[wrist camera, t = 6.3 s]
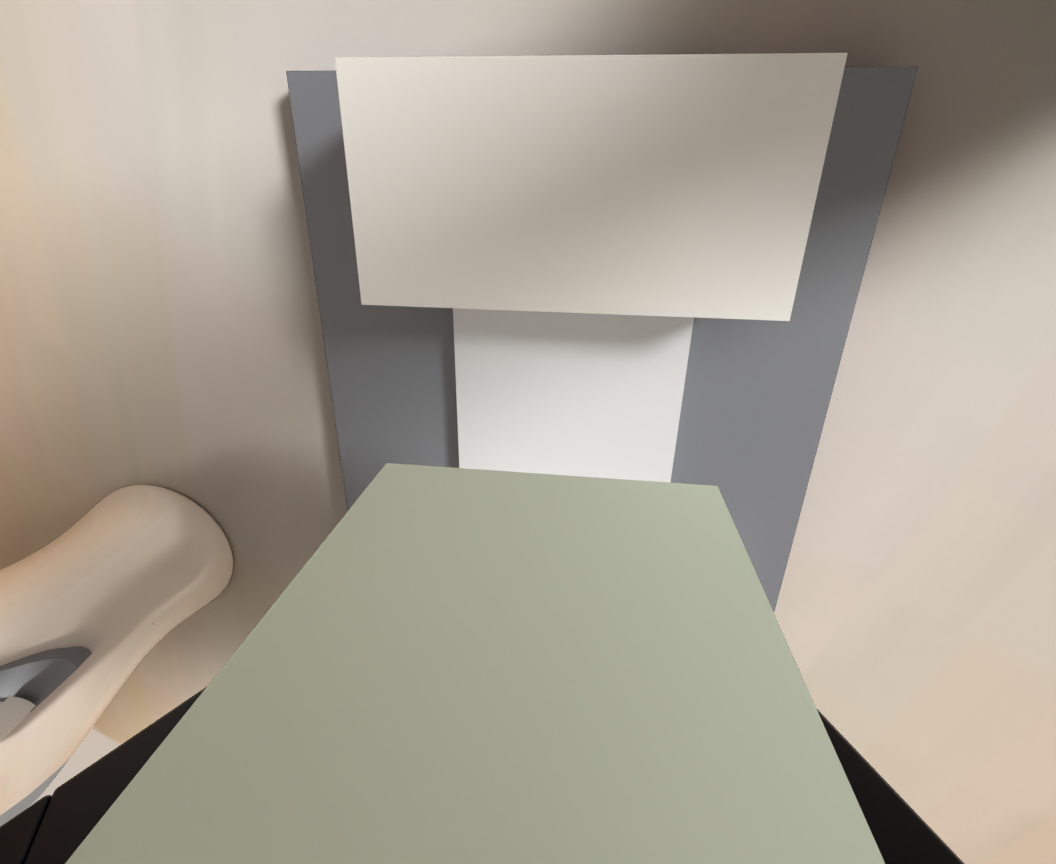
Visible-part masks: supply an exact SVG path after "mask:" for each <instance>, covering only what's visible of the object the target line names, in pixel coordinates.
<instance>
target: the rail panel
mask: <svg viewBox="0 0 1056 864" xmlns="http://www.w3.org/2000/svg"><path fill="white" fill-rule="evenodd" d="M847 54H848V53H762V54H657V55H551V56H446V57H340V58H335V65H336V71H286V74H287V81H288V88H289V96H290V103H291V110H292V117H293V124H294V131H295V138H296V145H297V152H298V159H299V167H300V174H301V181H302V188H303V195H304V202H305V209H306V216H307V223H308V230H309V238H310V245H311V252H312V259H313V266H314V273H315V280H316V287H317V294H318V301H319V309H320V316H321V323H322V330H323V337H324V344H325V351H326V358H327V365H328V372H329V380H330V387H331V394H332V401H333V408H334V415H335V422H336V429H337V436H338V443H339V451H340V458H341V465H342V472H343V479H344V486H345V493H346V500H347V507H348V510H349V509H350V508H351V507H352V505H353V504H354V503H355V502H356V500H357V499H358V498H359V497H360V495H361V494H362V493H363V492H364V491H365V489H366V488H367V487H368V486H369V484H370V483H371V482H372V481H373V479H374V478H375V477H376V476H377V474H378V473H379V472H380V471H381V469H382V468H383V467H384V466H385V464H386V463H394V464H409V465H423V466H438V467H452V468H466V469H481V470H495V471H510V472H524V473H539V474H553V475H568V476H582V477H596V478H611V479H625V480H640V481H654V482H669V483H683V484H697V485H712V486H718V488H719V490H720V493H721V495H722V497H723V499H724V502H725V504H726V506H727V508H728V511H729V513H730V515H731V517H732V520H733V522H734V524H735V526H736V529H737V531H738V533H739V535H740V538H741V540H742V542H743V544H744V547H745V549H746V551H747V553H748V556H749V558H750V560H751V563H752V565H753V567H754V569H755V572H756V574H757V576H758V578H759V581H760V583H761V585H762V587H763V590H764V592H765V594H766V596H767V599H768V601H769V603H770V605H771V608H772V610H773V612H774V611H775V607H776V603H777V600H778V596H779V592H780V588H781V584H782V581H783V577H784V573H785V569H786V565H787V562H788V558H789V554H790V550H791V546H792V543H793V539H794V535H795V531H796V527H797V524H798V520H799V516H800V512H801V508H802V505H803V501H804V497H805V493H806V489H807V486H808V482H809V478H810V474H811V470H812V467H813V463H814V459H815V455H816V452H817V448H818V444H819V440H820V436H821V433H822V429H823V425H824V421H825V417H826V414H827V410H828V406H829V402H830V398H831V395H832V391H833V387H834V383H835V379H836V376H837V372H838V368H839V364H840V360H841V357H842V353H843V349H844V345H845V341H846V338H847V334H848V330H849V326H850V322H851V319H852V315H853V311H854V307H855V304H856V300H857V296H858V292H859V288H860V285H861V281H862V277H863V273H864V269H865V266H866V262H867V258H868V254H869V250H870V247H871V243H872V239H873V235H874V231H875V228H876V224H877V220H878V216H879V212H880V209H881V205H882V201H883V197H884V193H885V190H886V186H887V182H888V178H889V174H890V171H891V167H892V163H893V159H894V156H895V152H896V148H897V144H898V140H899V137H900V133H901V129H902V125H903V121H904V118H905V114H906V110H907V106H908V102H909V99H910V95H911V91H912V87H913V83H914V80H915V76H916V72H917V68H918V67H845V63H846V59H847Z"/></svg>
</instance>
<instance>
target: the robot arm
mask: <svg viewBox="0 0 1056 864" xmlns="http://www.w3.org/2000/svg"><path fill="white" fill-rule="evenodd" d="M205 689H206V688H204V689H203V690H201V691H200V692H198V693H197V694H195V695H194V696H192V697H191V698H189V699H188V700H186V701H185V702H183V703H182V704H180V705H179V706H178V707H176V708H175V709H173V710H172V711H170V712H169V713H167V714H166V715H164V716H163V717H161V718H160V719H158V720H157V721H155V722H154V723H152V724H151V725H149V726H148V727H147V728H145V729H144V730H142V731H141V732H139V733H138V734H136V735H135V736H133V737H132V738H130V739H129V740H127V741H126V742H124V743H123V744H121V745H120V746H119V747H117V748H116V749H114V750H113V751H111V752H110V753H108V754H107V755H105V756H104V757H102V758H101V759H99V760H98V761H96V762H95V763H94V764H92V765H91V766H89V767H88V768H86V769H85V770H83V771H82V772H80V773H79V774H77V775H76V776H74V777H73V778H71V779H70V780H68V781H67V782H66V783H64V784H63V785H61V786H60V787H58V788H57V789H56V790H55V791H54V793H53V795H52V796H51V795H47V796H45V797H43V798H41V799H40V800H39V801H37V802H36V803H34V804H33V805H31V806H30V807H28V808H27V809H25V810H24V811H22V812H21V813H19V814H18V815H16V816H15V817H13V818H12V819H11V820H9V821H8V822H6V823H5V824H3V825H2V826H0V864H65V863H66V862H67V861H68V859H69V858H70V857H71V856H72V854H73V853H74V852H75V851H76V849H77V848H78V847H79V846H80V844H81V843H82V842H83V841H84V839H85V838H86V837H87V836H88V834H89V833H90V832H91V831H92V829H93V828H94V827H95V826H96V824H97V823H98V822H99V821H100V819H101V818H102V817H103V816H104V814H105V813H106V812H107V811H108V809H109V808H110V807H111V806H112V804H113V803H114V802H115V801H116V800H117V798H118V797H119V796H120V795H121V793H122V792H123V791H124V790H125V788H126V787H127V786H128V785H129V783H130V782H131V781H132V780H133V778H134V777H135V776H136V775H137V773H138V772H139V771H140V770H141V768H142V767H143V766H144V765H145V763H146V762H147V761H148V760H149V758H150V757H151V756H152V755H153V753H154V752H155V751H156V750H157V748H158V747H159V746H160V745H161V743H162V742H163V741H164V740H165V738H166V737H167V736H168V735H169V733H170V732H171V731H172V730H173V728H174V727H175V726H176V725H177V724H178V722H179V721H180V720H181V719H182V717H183V716H184V715H185V714H186V712H187V711H188V710H189V709H190V707H191V706H192V705H193V704H194V702H195V701H196V700H197V699H198V697H199V696H200V695H201V694H202V692H203V691H204V690H205ZM816 709H817V708H816ZM817 711H818V713H819V716H820V718H821V720H822V722H823V725H824V727H825V729H826V731H827V734H828V736H829V738H830V740H831V743H832V745H833V747H834V749H835V752H836V754H837V756H838V758H839V761H840V763H841V765H842V767H843V770H844V772H845V774H846V776H847V779H848V781H849V783H850V785H851V788H852V790H853V792H854V794H855V797H856V799H857V801H858V803H859V806H860V808H861V810H862V812H863V815H864V817H865V819H866V821H867V824H868V826H869V828H870V830H871V833H872V835H873V837H874V839H875V842H876V844H877V846H878V848H879V851H880V853H881V855H882V857H883V860H884V862H885V864H964V863H963V862H962V861H961V860H960V859H959V857H958V856H957V855H956V854H955V853H954V852H953V851H952V850H951V849H950V848H949V847H948V846H947V845H946V844H945V843H944V842H943V841H942V840H941V839H940V838H939V836H938V835H937V834H936V833H935V832H934V831H933V830H932V829H931V828H930V827H929V826H928V825H927V824H926V823H925V822H924V821H923V820H922V819H921V818H920V817H919V815H918V814H917V813H916V812H915V811H914V810H913V809H912V808H911V807H910V806H909V805H908V804H907V803H906V802H905V801H904V800H903V799H902V798H901V797H900V796H899V794H898V793H897V792H896V791H895V790H894V789H893V788H892V787H891V786H890V785H889V784H888V783H887V782H886V781H885V780H884V779H883V778H882V777H881V776H880V775H879V773H878V772H877V771H876V770H875V769H874V768H873V767H872V766H871V765H870V764H869V763H868V762H867V761H866V760H865V759H864V758H863V757H862V756H861V755H860V754H859V752H858V751H857V750H856V749H855V748H854V747H853V746H852V745H851V744H850V743H849V742H848V741H847V740H846V739H845V738H844V737H843V736H842V735H841V734H840V733H839V731H838V730H837V729H836V728H835V727H834V726H833V725H832V724H831V723H830V722H829V721H828V720H827V719H826V718H825V717H824V716H823V715H822V714H821V713H820V712H819V710H818V709H817Z"/></svg>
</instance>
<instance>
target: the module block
mask: <svg viewBox="0 0 1056 864" xmlns="http://www.w3.org/2000/svg"><path fill="white" fill-rule="evenodd" d="M65 864H885V862H884V860H883V857H882V855H881V853H880V851H879V848H878V846H877V844H876V842H875V839H874V837H873V835H872V833H871V830H870V828H869V826H868V824H867V821H866V819H865V817H864V815H863V812H862V810H861V808H860V806H859V803H858V801H857V799H856V797H855V794H854V792H853V790H852V788H851V785H850V783H849V781H848V779H847V776H846V774H845V772H844V770H843V767H842V765H841V763H840V761H839V758H838V756H837V754H836V752H835V749H834V747H833V745H832V743H831V740H830V738H829V736H828V734H827V731H826V729H825V727H824V725H823V722H822V720H821V718H820V716H819V713H818V711H817V709H816V707H815V704H814V702H813V700H812V698H811V695H810V693H809V691H808V689H807V686H806V684H805V682H804V680H803V677H802V675H801V673H800V671H799V668H798V666H797V664H796V662H795V659H794V657H793V655H792V653H791V650H790V648H789V646H788V644H787V641H786V639H785V637H784V635H783V632H782V630H781V628H780V626H779V623H778V621H777V619H776V617H775V614H774V612H773V610H772V608H771V605H770V603H769V601H768V599H767V596H766V594H765V592H764V590H763V587H762V585H761V583H760V581H759V578H758V576H757V574H756V572H755V569H754V567H753V565H752V563H751V560H750V558H749V556H748V553H747V551H746V549H745V547H744V544H743V542H742V540H741V538H740V535H739V533H738V531H737V529H736V526H735V524H734V522H733V520H732V517H731V515H730V513H729V511H728V508H727V506H726V504H725V502H724V499H723V497H722V495H721V493H720V490H719V488H718V486H712V485H697V484H683V483H669V482H654V481H640V480H625V479H611V478H596V477H582V476H568V475H553V474H539V473H524V472H510V471H495V470H481V469H466V468H452V467H438V466H423V465H409V464H394V463H386V464H385V466H384V467H383V468H382V469H381V471H380V472H379V473H378V474H377V476H376V477H375V478H374V479H373V481H372V482H371V483H370V484H369V486H368V487H367V488H366V489H365V491H364V492H363V493H362V494H361V495H360V497H359V498H358V499H357V500H356V502H355V503H354V504H353V505H352V507H351V508H350V509H349V510H348V512H347V513H346V514H345V515H344V517H343V518H342V519H341V520H340V522H339V523H338V524H337V525H336V527H335V528H334V529H333V530H332V532H331V533H330V534H329V535H328V537H327V538H326V539H325V540H324V542H323V543H322V544H321V545H320V547H319V548H318V549H317V550H316V552H315V553H314V554H313V555H312V557H311V558H310V559H309V560H308V562H307V563H306V564H305V565H304V567H303V568H302V569H301V570H300V571H299V573H298V574H297V575H296V576H295V578H294V579H293V580H292V581H291V583H290V584H289V585H288V586H287V588H286V589H285V590H284V591H283V593H282V594H281V595H280V596H279V598H278V599H277V600H276V601H275V603H274V604H273V605H272V606H271V608H270V609H269V610H268V611H267V613H266V614H265V615H264V616H263V618H262V619H261V620H260V621H259V623H258V624H257V625H256V626H255V628H254V629H253V630H252V631H251V633H250V634H249V635H248V636H247V638H246V639H245V640H244V641H243V643H242V644H241V645H240V646H239V647H238V649H237V650H236V651H235V652H234V654H233V655H232V656H231V657H230V659H229V660H228V661H227V662H226V664H225V665H224V666H223V667H222V669H221V670H220V671H219V672H218V674H217V675H216V676H215V677H214V679H213V680H212V681H211V682H210V684H209V685H208V686H207V687H206V689H205V690H204V691H203V692H202V694H201V695H200V696H199V697H198V699H197V700H196V701H195V702H194V704H193V705H192V706H191V707H190V709H189V710H188V711H187V712H186V714H185V715H184V716H183V717H182V719H181V720H180V721H179V722H178V724H177V725H176V726H175V727H174V728H173V730H172V731H171V732H170V733H169V735H168V736H167V737H166V738H165V740H164V741H163V742H162V743H161V745H160V746H159V747H158V748H157V750H156V751H155V752H154V753H153V755H152V756H151V757H150V758H149V760H148V761H147V762H146V763H145V765H144V766H143V767H142V768H141V770H140V771H139V772H138V773H137V775H136V776H135V777H134V778H133V780H132V781H131V782H130V783H129V785H128V786H127V787H126V788H125V790H124V791H123V792H122V793H121V795H120V796H119V797H118V798H117V800H116V801H115V802H114V803H113V804H112V806H111V807H110V808H109V809H108V811H107V812H106V813H105V814H104V816H103V817H102V818H101V819H100V821H99V822H98V823H97V824H96V826H95V827H94V828H93V829H92V831H91V832H90V833H89V834H88V836H87V837H86V838H85V839H84V841H83V842H82V843H81V844H80V846H79V847H78V848H77V849H76V851H75V852H74V853H73V854H72V856H71V857H70V858H69V859H68V861H67V862H66V863H65Z"/></svg>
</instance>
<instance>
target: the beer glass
mask: <svg viewBox="0 0 1056 864" xmlns="http://www.w3.org/2000/svg"><path fill="white" fill-rule="evenodd" d="M232 572H233V556H232V551H231V548H230V545H229V542H228V540H227V538H226V536H225V534H224V532H223V531H222V529H221V528H220V526H219V525H218V524H217V522H216V521H215V520H214V519H213V518H212V517H211V516H210V515H209V514H208V513H207V512H206V511H205V510H204V509H203V508H201V507H200V506H199V505H198V504H196V503H195V502H193V501H192V500H190V499H188V498H187V497H185V496H183V495H181V494H179V493H177V492H174V491H172V490H169V489H166V488H162V487H158V486H153V485H132V486H127V487H124V488H121V489H118V490H116V491H114V492H112V493H111V494H109V495H108V496H106V497H105V498H104V499H103V500H101V501H100V502H99V503H98V504H97V505H95V506H94V507H93V508H92V509H91V510H90V511H89V512H88V513H87V514H85V515H84V516H83V517H82V518H81V519H80V520H79V521H78V522H77V523H75V524H74V525H73V526H72V527H71V528H70V529H68V530H67V531H66V532H65V533H63V534H62V535H61V536H60V537H58V538H57V539H55V540H54V541H52V542H51V543H49V544H48V545H46V546H45V547H43V548H42V549H40V550H38V551H36V552H35V553H33V554H31V555H29V556H27V557H26V558H24V559H22V560H20V561H18V562H16V563H14V564H12V565H10V566H8V567H5V568H3V569H1V570H0V826H2V825H3V824H5V823H6V822H8V821H9V820H11V819H12V818H13V817H15V816H16V815H18V814H19V813H21V812H22V811H24V810H25V809H27V808H28V807H30V806H31V805H33V804H34V803H35V802H36V801H37V800H38V799H39V797H40V796H41V795H42V794H43V792H44V791H45V790H46V788H47V787H48V786H49V785H50V783H51V782H52V781H53V780H54V778H55V777H56V776H57V774H58V773H59V772H60V771H61V769H62V768H63V767H64V765H65V764H66V763H67V761H68V760H69V758H70V757H71V756H72V754H73V753H74V751H75V750H76V749H77V747H78V746H79V745H80V743H81V742H82V741H83V739H84V738H85V736H86V735H87V734H88V732H89V731H90V730H91V728H92V727H93V725H94V724H95V723H96V721H97V720H98V718H99V717H100V716H101V714H102V713H103V711H104V710H105V709H106V707H107V706H108V704H109V703H110V702H111V700H112V699H113V697H114V696H115V695H116V693H117V692H118V690H119V689H120V688H121V686H122V685H123V684H124V682H125V681H126V680H127V678H128V677H129V676H130V674H131V673H132V672H133V671H134V669H135V668H136V667H137V665H138V664H139V663H140V661H141V660H142V659H143V658H144V657H145V656H146V655H147V654H148V653H149V651H150V650H151V649H152V648H153V647H154V646H155V645H156V644H157V643H158V642H159V641H160V640H161V639H162V638H163V639H164V636H165V635H166V634H167V633H169V632H170V631H171V630H172V629H173V628H175V627H176V626H177V625H178V624H180V623H181V622H182V621H184V620H185V619H186V618H188V617H189V616H191V615H192V614H194V613H195V612H196V611H198V610H199V609H201V608H202V607H203V606H205V605H206V604H208V603H209V602H210V601H212V600H213V599H214V598H216V597H217V596H218V595H219V594H220V593H221V592H222V591H223V590H224V589H225V587H226V586H227V584H228V582H229V581H230V578H231V576H232Z"/></svg>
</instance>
